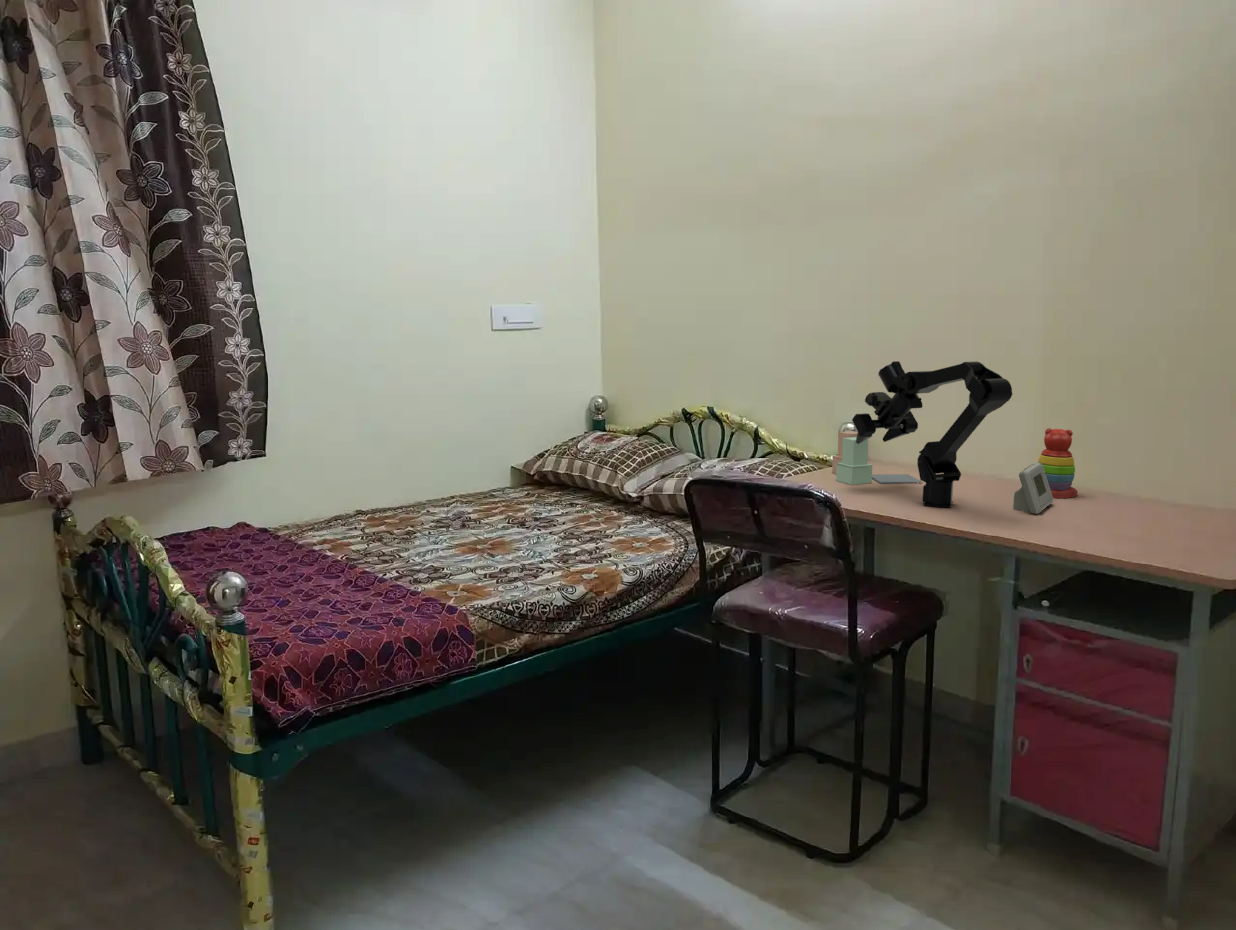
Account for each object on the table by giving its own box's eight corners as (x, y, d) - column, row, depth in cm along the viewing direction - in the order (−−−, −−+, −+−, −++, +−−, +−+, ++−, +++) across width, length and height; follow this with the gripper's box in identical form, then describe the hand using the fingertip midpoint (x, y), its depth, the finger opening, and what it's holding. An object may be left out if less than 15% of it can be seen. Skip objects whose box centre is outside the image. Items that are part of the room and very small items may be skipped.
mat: (922, 483, 264) (922, 481, 264) (880, 483, 264) (880, 482, 264) (907, 475, 276) (907, 474, 276) (867, 476, 276) (867, 474, 276)
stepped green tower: (871, 482, 266) (873, 439, 263) (851, 484, 263) (853, 441, 261) (855, 478, 272) (857, 436, 270) (836, 480, 269) (837, 437, 267)
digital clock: (1037, 516, 224) (1040, 472, 222) (1000, 510, 230) (1003, 468, 228) (1065, 506, 235) (1068, 464, 233) (1029, 501, 241) (1032, 460, 239)
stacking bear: (1078, 493, 250) (1083, 427, 247) (1073, 500, 241) (1079, 432, 238) (1034, 489, 255) (1039, 425, 252) (1028, 496, 247) (1033, 429, 244)
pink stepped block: (865, 474, 278) (867, 433, 276) (846, 476, 275) (848, 434, 273) (851, 471, 284) (852, 430, 282) (832, 472, 281) (833, 431, 279)
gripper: (913, 381, 255) (884, 417, 267) (858, 384, 248) (831, 420, 260) (932, 413, 250) (901, 448, 262) (876, 417, 242) (847, 452, 254)
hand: (870, 441), depth 259 cm, fingers open, 9 cm apart
